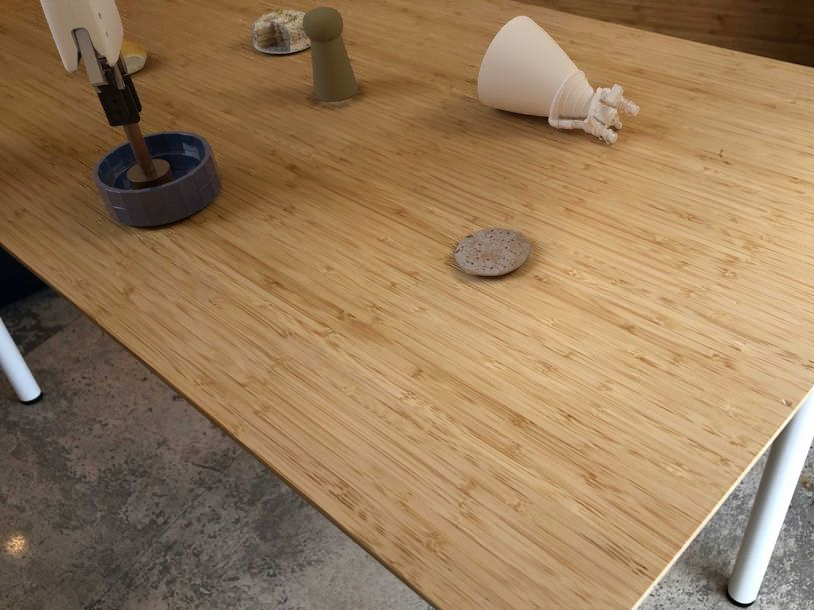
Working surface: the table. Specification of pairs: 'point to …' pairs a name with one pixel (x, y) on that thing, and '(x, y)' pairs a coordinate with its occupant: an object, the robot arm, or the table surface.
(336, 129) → the table surface
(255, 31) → the cake
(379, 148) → the table surface
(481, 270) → the flatbread
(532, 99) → the rocket engine
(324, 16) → the olive game pawn
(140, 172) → the brown pestle
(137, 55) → the bread roll
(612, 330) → the table surface
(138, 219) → the bowl
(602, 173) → the table surface
